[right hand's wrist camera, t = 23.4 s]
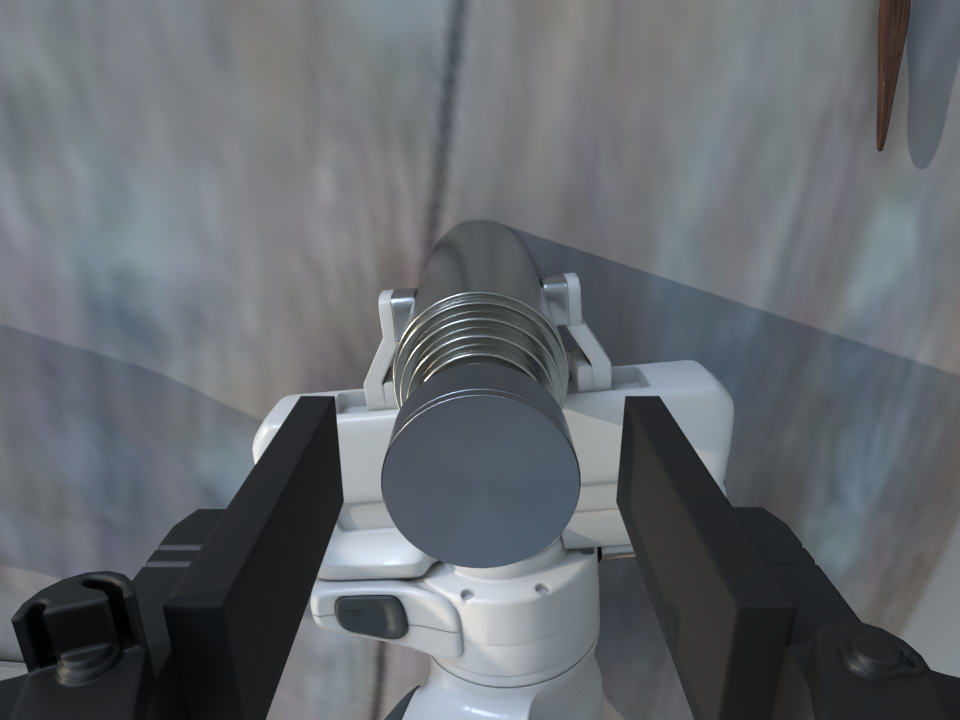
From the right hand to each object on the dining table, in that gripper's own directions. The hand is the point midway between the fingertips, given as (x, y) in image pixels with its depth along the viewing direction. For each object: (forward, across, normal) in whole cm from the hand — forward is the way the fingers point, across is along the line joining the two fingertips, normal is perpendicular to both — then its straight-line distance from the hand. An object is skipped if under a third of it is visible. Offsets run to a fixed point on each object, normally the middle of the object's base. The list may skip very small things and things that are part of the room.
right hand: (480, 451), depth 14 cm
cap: (-1, 0, 0) cm, 1 cm away
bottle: (+18, 0, 0) cm, 18 cm away
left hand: (+12, 0, -1) cm, 12 cm away
